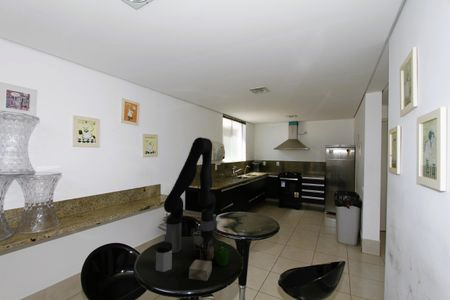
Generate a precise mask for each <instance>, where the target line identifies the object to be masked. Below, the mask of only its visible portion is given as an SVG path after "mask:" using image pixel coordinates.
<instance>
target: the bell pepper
mask: <svg viewBox="0 0 450 300" xmlns="http://www.w3.org/2000/svg"><path fill="white" fill-rule="evenodd" d="M230 255H231V251H230V249H228V248H227V247H225V246H224V247H223V246H221V247H216V248H215V249H214V260H215V264H217V265H218V266H220V267H226V266H227V264H228V263H229V261H230V257H231V256H230Z"/></svg>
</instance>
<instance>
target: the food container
mask: <svg viewBox="0 0 450 300" xmlns="http://www.w3.org/2000/svg"><path fill="white" fill-rule="evenodd" d="M192 237H193V248H194V250H199V251H200V249H201V245H200V244H201V243H203V238H202V237H201V230H197V231H194V232H193V233H192Z"/></svg>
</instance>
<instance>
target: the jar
mask: <svg viewBox="0 0 450 300" xmlns="http://www.w3.org/2000/svg"><path fill="white" fill-rule="evenodd" d="M172 260H173V253H172V243H170V242H165V241H162V242H158V243H157V244H156V248H155V271H157V272H161V273H164V272H167V271H170V270H172V266H173V265H172V264H173V262H172Z"/></svg>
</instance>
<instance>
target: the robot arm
mask: <svg viewBox="0 0 450 300" xmlns="http://www.w3.org/2000/svg"><path fill="white" fill-rule="evenodd" d="M212 156H213V142H212V141H211V139H210V138H207V137H197V138H195V139H194V141H193V142H192V144H191V146H190V150H189V153H188V155H187V158H186V159H185V162H184V164H183V166H182V168H181V170H180V172H179V174H178V176H177V178H176V180H175V182H174V184H173V187H172V188H171V190H170V192H169V193H168V195H167V197H166V198H165V201H164V203H163V209H164V211H165V212H166V213H167V214H168V213H169V215H168V216H167V217H166V219H165V220H166V222H165V223H166V225H165V227H166V228H165V229H166V230H165V231H166V232H165V235H164V242H170V243H172V254H177V253H179V252H180V251H181V250H182V219H183V217H184V200H183V198H182V196H183V194H184V193H185V191H187V189H189V187H190V186H191V185H192V184H193V182H194V180H195V178H196V175H197V173H198V172H197V171H198V162H199V160H200V157H201V158H202V160H201V161H202V162H201V167H200V169H199V170H200V171H199V183H200V184H199V185H200V187H199V192H198V193H199V194H198V203H199V205H201V206H202V207H204V208H203V209H202V211H201V215H200V216H201V217H200V219H201V220H200V231H201V237H202V238H203V243H201V244H200V245H201V254H203V260H205V261H206V260H207V250H208V248H209V246H210V247H214V246H213V245H214V244H213V243H214V235H215V234H214V232H215V224H214V211H215V208H216V203H217V199H216V195H215V194H214V193H213V192H210V190H211V189H212V188H213V177H212V161H213V160H212V159H213V157H212ZM206 247H207V248H206Z"/></svg>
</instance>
